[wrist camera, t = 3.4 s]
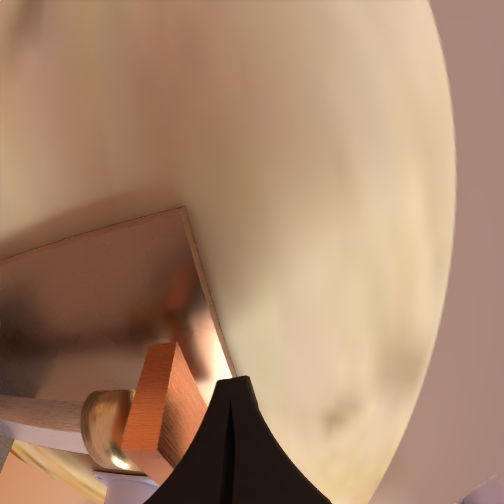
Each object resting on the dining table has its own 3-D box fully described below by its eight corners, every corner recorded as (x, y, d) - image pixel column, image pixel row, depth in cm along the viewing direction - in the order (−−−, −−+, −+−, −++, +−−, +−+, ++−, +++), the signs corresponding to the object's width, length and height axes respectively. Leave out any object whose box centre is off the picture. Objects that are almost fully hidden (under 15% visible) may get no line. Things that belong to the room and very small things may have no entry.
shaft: (177, 341, 11) (156, 450, 6) (211, 415, 13) (210, 504, 8) (-50, 354, 11) (-82, 396, 7) (-15, 404, 13) (-38, 447, 9)
